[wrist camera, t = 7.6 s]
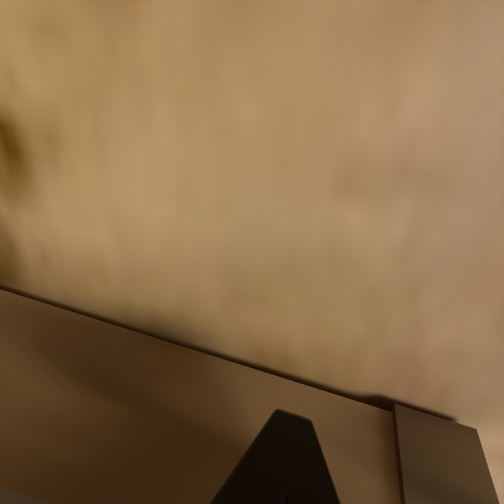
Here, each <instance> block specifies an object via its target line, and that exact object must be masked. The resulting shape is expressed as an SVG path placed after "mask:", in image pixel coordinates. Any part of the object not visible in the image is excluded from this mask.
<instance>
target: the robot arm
mask: <svg viewBox="0 0 504 504" xmlns="http://www.w3.org/2000/svg"><path fill="white" fill-rule="evenodd" d="M210 504H341V503H340V500H339V498H338V495H337V492H336V489H335V486H334V483H333V480H332V477H331V474H330V471H329V469H328V466H327V463H326V460H325V457H324V454H323V451H322V448H321V445H320V442H319V440H318V437H317V434H316V431H315V428H314V425H313V423H312V421H311V420H310V419H309V418H306V417H303V416H300V415H297V414H294V413H291V412H288V411H285V410H282V409H276V410H274V412H273V413H272V415H271V416H270V417H269V419H268V420H267V422H266V423H265V425H264V426H263V428H262V429H261V430H260V432H259V433H258V435H257V436H256V438H255V439H254V441H253V442H252V443H251V445H250V446H249V448H248V449H247V451H246V452H245V454H244V455H243V456H242V458H241V459H240V461H239V462H238V464H237V465H236V467H235V468H234V469H233V471H232V472H231V474H230V475H229V477H228V478H227V480H226V481H225V483H224V484H223V485H222V487H221V488H220V490H219V491H218V493H217V494H216V496H215V497H214V498H213V500H212V501H211V503H210Z"/></svg>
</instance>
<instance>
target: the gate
mask: <svg viewBox="0 0 504 504" xmlns="http://www.w3.org/2000/svg"><path fill="white" fill-rule="evenodd" d="M276 409H282V410H285V411H288V412H291V413H294V414H297V415H300V416H303V417H306V418H309V419H310V420H311V421H312V423H313V425H314V428H315V431H316V434H317V437H318V440H319V442H320V445H321V448H322V451H323V454H324V457H325V460H326V463H327V466H328V469H329V471H330V474H331V477H332V480H333V483H334V486H335V489H336V492H337V495H338V498H339V500H340V503H341V504H499V501H498V498H497V495H496V491H495V488H494V485H493V482H492V478H491V475H490V472H489V469H488V465H487V462H486V459H485V455H484V452H483V449H482V446H481V442H480V439H479V436H478V433H477V429H474V428H471V427H468V426H465V425H461V424H458V423H455V422H452V421H449V420H445V419H442V418H439V417H436V416H433V415H429V414H426V413H423V412H420V411H417V410H413V409H410V408H407V407H404V406H400V405H397V404H394V406H393V408H392V410H391V412H390V411H386V410H383V409H380V408H377V407H374V406H370V405H367V404H364V403H361V402H358V401H355V400H351V399H348V398H345V397H342V396H339V395H335V394H332V393H329V392H326V391H323V390H319V389H316V388H313V387H310V386H307V385H304V384H300V383H297V382H294V381H291V380H288V379H284V378H281V377H278V376H275V375H272V374H269V373H265V372H262V371H259V370H256V369H253V368H249V367H246V366H243V365H240V364H237V363H233V362H230V361H227V360H224V359H221V358H218V357H214V356H211V355H208V354H205V353H202V352H198V351H195V350H192V349H189V348H186V347H183V346H179V345H176V344H173V343H170V342H167V341H163V340H160V339H157V338H154V337H151V336H147V335H144V334H141V333H138V332H135V331H132V330H128V329H125V328H122V327H119V326H116V325H112V324H109V323H106V322H103V321H100V320H97V319H93V318H90V317H87V316H84V315H81V314H77V313H74V312H71V311H68V310H65V309H61V308H58V307H55V306H52V305H49V304H46V303H42V302H39V301H36V300H33V299H30V298H26V297H23V296H20V295H17V294H14V293H11V292H7V291H4V290H1V289H0V504H210V503H211V501H212V500H213V498H214V497H215V496H216V494H217V493H218V491H219V490H220V488H221V487H222V485H223V484H224V483H225V481H226V480H227V478H228V477H229V475H230V474H231V472H232V471H233V469H234V468H235V467H236V465H237V464H238V462H239V461H240V459H241V458H242V456H243V455H244V454H245V452H246V451H247V449H248V448H249V446H250V445H251V443H252V442H253V441H254V439H255V438H256V436H257V435H258V433H259V432H260V430H261V429H262V428H263V426H264V425H265V423H266V422H267V420H268V419H269V417H270V416H271V415H272V413H273V412H274V410H276Z"/></svg>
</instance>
